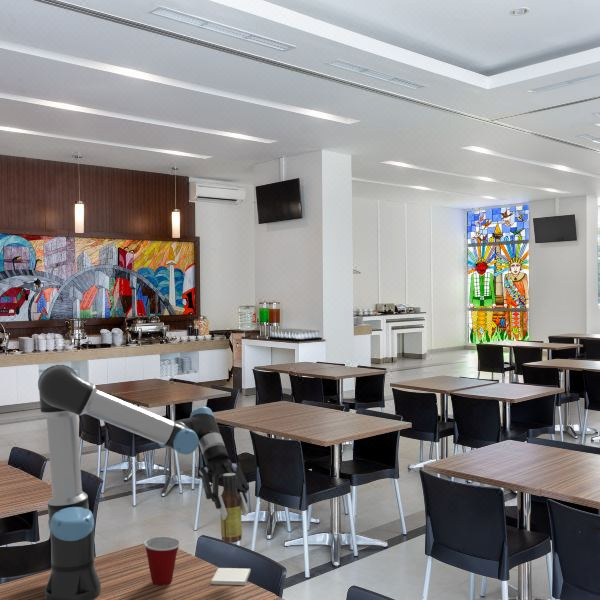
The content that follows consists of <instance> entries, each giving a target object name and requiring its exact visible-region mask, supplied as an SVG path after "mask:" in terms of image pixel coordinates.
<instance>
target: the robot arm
mask: <svg viewBox="0 0 600 600" xmlns="http://www.w3.org/2000/svg"><path fill="white" fill-rule="evenodd" d="M37 387H38V388H37V389H38V392H39V405H40V407H39V409H40V413H41V414H42V415H43V416H45V418H46V426H47V427H46V428H47V439H48V452H49V464H50V467H49V468H50V480H51V492H52V494H51V497H50V498H49V499H48V500H47V511H48V529H49V535H50V555H51V556H50V559H51V560H50V561H51V562H50V563H51V565H50V567H51V569H50V570H51V571H50V573H49V577H48V580H47V583H46V585H45V586H46V587H45V589H44V600H94V599H96V598H97V597H98V596H99V595H100V594H101V581H100V578H99V576H98V573H97V570H96V567H95V566H96V565H95V549H94V548H95V546H94V545H95V543H94V542H95V535H94V534H95V533H94V527H95V519H94V514H93V513H92V511H91V510H90V509H89V507H90V506H89V497H88V496H89V495H88V494H87V493H86V492H84V491H83V486H82V485H83V484H82V473H81V469H82V468H81V459H80V446H79V443H80V442H79V433H78V432H79V431H78V419H77V418H78V416H77V415H79V416H82V415H88V416H90V417H93V418H95V419H98V420H100V421H103V422H105V423H108V424H109V425H113V426H115V427H117V428H120V429H123V430H125V431H127V432H130V433H132V434H135V435H138V436H140V437H143V438H146V439H148V440H150V441H152V442H156V443H157V444H158V446H159V447H160V448H170V449H172V450H174V451H176V452H177V453H179V454H181V455H186V456H187V455H190V454H192V453H194V452H195V451H196V450H197V448H198V447H199V448H200V450H201V451H200V452H201V454H202V457H203V460H204V463H205V467H203V466H201V467H200V468H199V471H198V475H199V476H200V478H201V481H202V485H203V490H204V494H205V498H206V500H211V501H212V502H214V505H215V509H217V510H219V512H220V513H221V514H220V517H221V516H222V519H223V520H225V519H226V517H227V515H228V514H227V511H226V508H225V505H224V502H223V499H222V496H221V495H219V489H220V488H219V485H220V484H219V483H220V482H219V479H220V478H223V474H225V473H235V474H236V489H237V492H238V495H239V498H240V501H241V513H242V516H243V517H246V516H247V515H248V513H249V508H248V497H247V495H246V494H247V493H248V492H249V489H250V485H249V484H248V481H247V479H246V477H245V474H244V472H243V470H242V466H241V462H239V461H238V462H236V463H233V462H232V461H231V460H230V458H229V454H228V452H227V448H226V446H225V445H226V444H225V442H224V439H223V437H222V435H221V432H220V428H219V425H218V423H217V418H216V416H215V415H214V413H213V411H212V409H211V408H209V407H207V406H200V407H198V408H195V409H193V410H192V411H191V413H190V416H189V417H187V418H183V419H178V420H173V421H172V420H171V419H168V418H166V417H163V416H161V415H158V414H156V413H154V412H151V411H149V410H146V409H144V408H142V407H140V406H136V405H134V404H132V403H129V402H127V401H124V400H123V399H120V398H118V397H116V396H114V395H110V394H108V393H106V392H104V391H101V390H99V389H97V387H96V384H94V383H92V382H90V381H87V380H86V379H84V378H82V377H80V375H78V373H77V372H76V371H75V369H74V368H72V367H70V366H69V365H65V364H55V365H51V366H49V367H47V368H46V369H44V370H43V372H42V373H41V374H40V376H39V378H38V381H37ZM208 473H209V474H210V475H212V476H211V477H212V478H211V479H212V480H211V481H212V485H211V481H210V479H209V474H208Z"/></svg>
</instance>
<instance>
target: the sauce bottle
mask: <svg viewBox="0 0 600 600" xmlns="http://www.w3.org/2000/svg"><path fill="white" fill-rule="evenodd" d="M236 479H237V476H236V474H235V472H233V473H225V474H223V477H222V480H223V488H222V493H221V494H220V496H222V499H223V502H224V505H225V508H226V511H227V514H228V515H227V517H226V519H225V520H223V519H222V516H221V513H220V531H221V532H220V534H221V540H222V542H224V543H227V544H228V543H230V544H231V543H232V544H233V543H237V542H239V541H241V540H242V538H243V537H242V535H243V523H242V509H241V501H240V498H239V494H238V492H237V489H236Z"/></svg>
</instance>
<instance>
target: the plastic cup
mask: <svg viewBox="0 0 600 600" xmlns="http://www.w3.org/2000/svg"><path fill="white" fill-rule="evenodd" d="M143 545H144V547H145V551H146V556H147V561H148V569H149V573H150V579H151V581H152V584H154V585H155V586H164V585H169V584H171V582H173V581H172V580H173V579H174V577H173V576H174V572H175V571H174V570H175V567H176V559H177V553H178V550H179V547H180V545H181V540H179V539H177V538H176V537H172V536H163V535H162V536H161V535H160V536H154V537H149V538H148V539H145V541H144V542H143Z"/></svg>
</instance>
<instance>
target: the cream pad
mask: <svg viewBox="0 0 600 600" xmlns="http://www.w3.org/2000/svg"><path fill="white" fill-rule="evenodd" d="M250 573H251V568H238V567H235V568H233V567H218V568H217V570H216V572H215V574H214V575H213V577H212V579H211V581H210V582H211V585H229V586H230V585H232V586H233V585H235V586H236V585H237V586H239V585H240V586H246V584H247V581H248V579H249V576H250Z"/></svg>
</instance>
